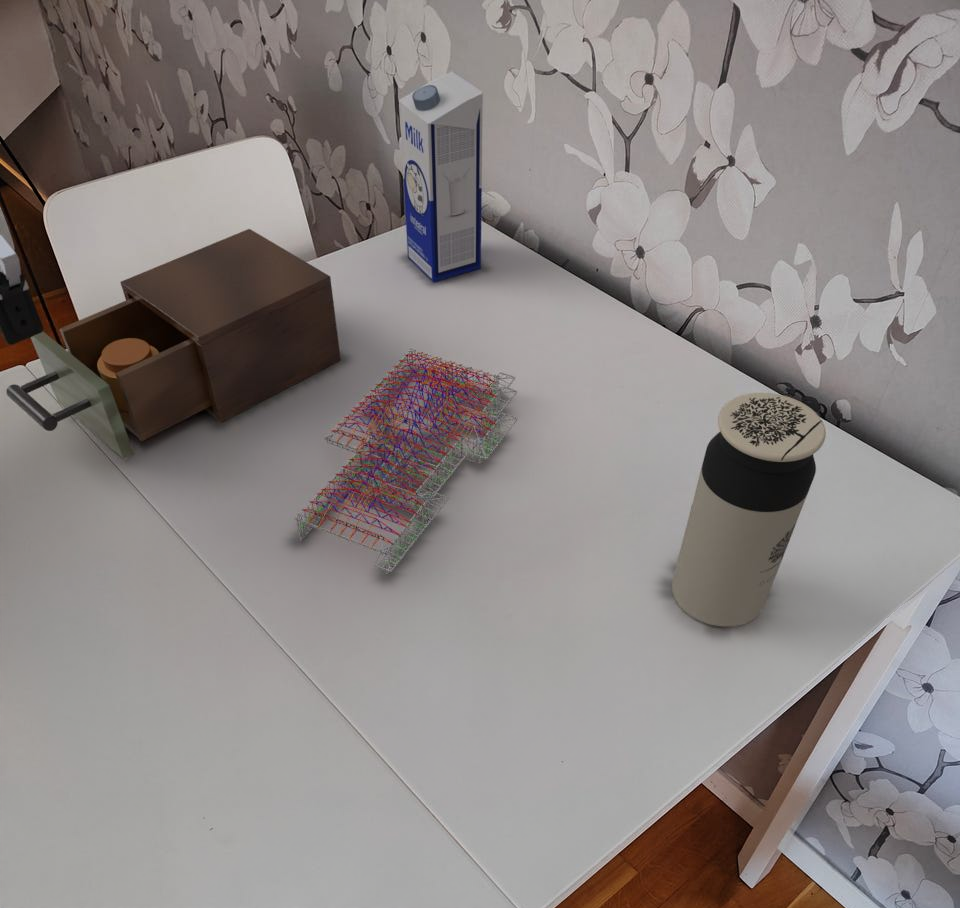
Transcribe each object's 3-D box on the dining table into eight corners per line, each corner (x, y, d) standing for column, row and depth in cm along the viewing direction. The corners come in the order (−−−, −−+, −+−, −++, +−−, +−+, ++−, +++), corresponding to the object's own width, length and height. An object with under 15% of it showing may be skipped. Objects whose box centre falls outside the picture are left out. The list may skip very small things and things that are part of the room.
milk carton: (481, 269, 111) (483, 90, 96) (433, 283, 109) (427, 103, 93) (453, 244, 115) (451, 68, 99) (407, 257, 113) (397, 79, 97)
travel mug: (651, 589, 78) (692, 418, 64) (712, 547, 81) (763, 376, 67) (722, 644, 74) (782, 475, 60) (783, 598, 77) (853, 428, 63)
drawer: (77, 483, 84) (46, 414, 78) (12, 423, 90) (-21, 354, 84) (248, 395, 93) (233, 327, 87) (180, 345, 98) (161, 278, 92)
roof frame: (399, 592, 77) (395, 550, 73) (254, 535, 81) (243, 492, 77) (543, 403, 94) (546, 360, 90) (417, 364, 98) (415, 321, 94)
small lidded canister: (96, 398, 90) (80, 355, 87) (142, 370, 94) (128, 327, 90) (137, 420, 88) (122, 376, 84) (183, 390, 91) (170, 347, 88)
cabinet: (220, 423, 92) (198, 337, 84) (146, 366, 98) (119, 281, 90) (341, 360, 99) (330, 276, 91) (265, 311, 105) (249, 228, 97)
